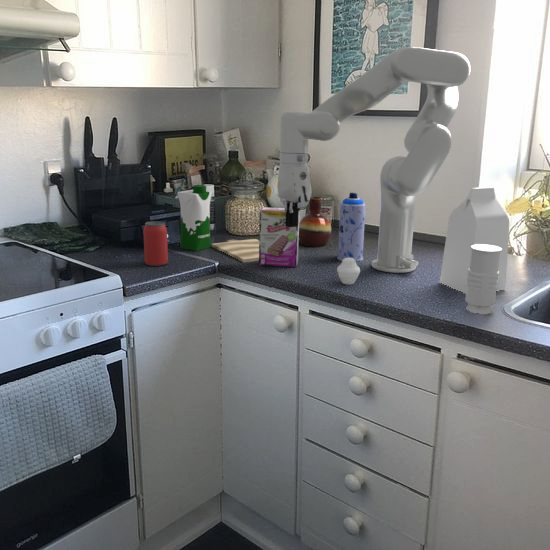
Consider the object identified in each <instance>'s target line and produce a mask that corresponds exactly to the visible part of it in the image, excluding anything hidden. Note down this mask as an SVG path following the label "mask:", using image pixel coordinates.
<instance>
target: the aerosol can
mask: <svg viewBox="0 0 550 550" xmlns="http://www.w3.org/2000/svg"><path fill="white" fill-rule="evenodd" d="M365 217H366V203H365V202H364V200H363V199H362V198H360V197H359V196H358V193H356V192H349V194H348V197H346V198H344V199H343V200H342V201H341V202H340V205H339V226H338V227H339V228H338V248H337V256H336V258H337V260H338V261H341V262H342V261H343V259H345V258H349V257H350V258H353V259H354V260H355V261H356V263H357V262H362V261H363V260H364V257H363V255H364V254H363V253H364V240H365V239H364V238H365V222H366V221H365V220H366V218H365Z"/></svg>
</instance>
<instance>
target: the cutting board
mask: <svg viewBox="0 0 550 550" xmlns="http://www.w3.org/2000/svg"><path fill="white" fill-rule="evenodd" d="M211 248H213V249H215V250H217V251H219V252H221V251H222V252H221V253H223V252H224V253H223V254H225V253H226V255H227V254H228V255H227V256H229V255H230V257H231V256H232V258H233V257H234V258H233V259H235V258H236V260H237V259H238V260H237V261H239V262H242V263H252V262H259V239H257V238H250V239H249V238H248V239H242V240H240V239H239V240H237V239H226V242H225V241H224V242H217V243H216V242H215V243H211Z"/></svg>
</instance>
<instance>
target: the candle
mask: <svg viewBox="0 0 550 550" xmlns="http://www.w3.org/2000/svg"><path fill="white" fill-rule="evenodd" d="M471 249H472V252H471V261H470V268H469V269H468V275H467V277H468V279H467V282H468V283H467V285H466V287H467V293H466V294H465V299H464V301H465V303H467V306H466V308H465V310H466V309H467V310H469V311H470V312H469V311H468V312H469V313H472V312H473V313H472V314H476V313H479V314H478V315H489V314H488V313H490V314H492V313H493V309H492V307H493V306H495V305H496V297H497V295H496V294H497V292H496V290H497V285H498V280H499V277H498V276H499V271H498V268H499V260H500V252H501V251H502V248H500V247H498V246H494V245H486V244H476V245H472V246H471ZM467 310H466V311H467Z"/></svg>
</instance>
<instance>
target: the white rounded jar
mask: <svg viewBox="0 0 550 550" xmlns="http://www.w3.org/2000/svg"><path fill="white" fill-rule="evenodd" d="M336 272H337V275H338V277H339V280H340V281H341V284H344V285H353V284H355V283H356V282H357V279H358V277H359V275H360V273H361V269H360V267H359V266H358V264H357V262H356V261H355V260H354V259H353V258H350V257H349V258H345V259H343V261H341V263H340V264H339V265H338V266H337V268H336Z"/></svg>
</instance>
